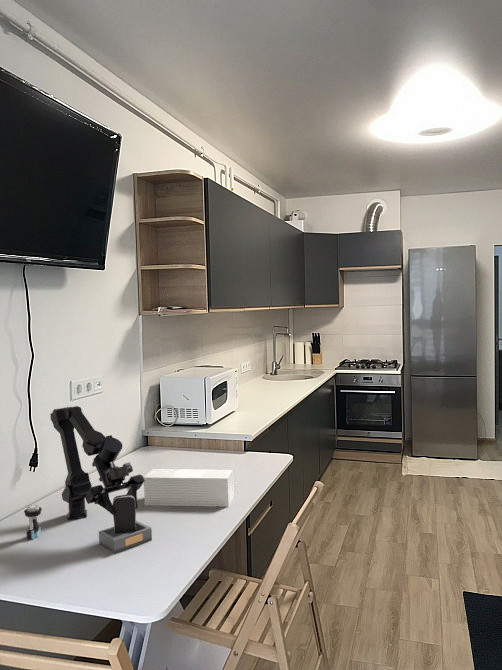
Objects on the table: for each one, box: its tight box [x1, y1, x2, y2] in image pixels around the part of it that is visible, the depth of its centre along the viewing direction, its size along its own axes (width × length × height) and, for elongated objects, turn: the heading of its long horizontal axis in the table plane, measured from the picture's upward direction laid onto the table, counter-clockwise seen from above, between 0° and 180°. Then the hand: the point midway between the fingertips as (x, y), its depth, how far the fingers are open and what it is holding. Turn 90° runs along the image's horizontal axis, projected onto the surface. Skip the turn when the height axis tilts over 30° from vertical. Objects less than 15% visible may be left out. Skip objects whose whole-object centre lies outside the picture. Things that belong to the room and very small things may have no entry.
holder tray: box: [98, 520, 153, 554], centre depth 179 cm, size 10×13×4 cm
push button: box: [23, 504, 43, 540], centre depth 187 cm, size 7×5×10 cm
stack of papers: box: [143, 468, 235, 508], centre depth 215 cm, size 32×11×11 cm, turn 81°
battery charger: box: [112, 494, 137, 534], centre depth 179 cm, size 7×4×11 cm, turn 106°
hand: (126, 511), depth 178 cm, fingers closed on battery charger, 7 cm apart
